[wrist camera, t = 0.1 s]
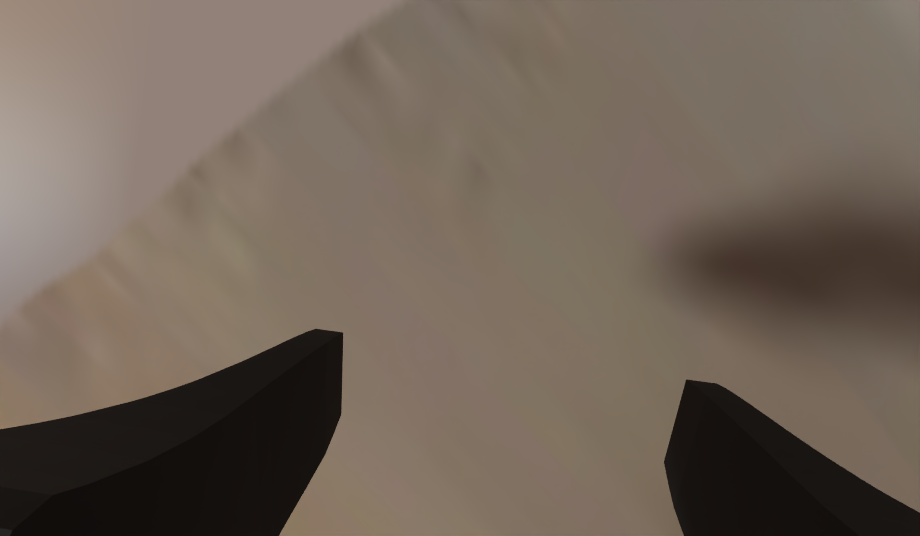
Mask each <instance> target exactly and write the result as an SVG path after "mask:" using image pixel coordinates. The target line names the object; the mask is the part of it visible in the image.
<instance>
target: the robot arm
mask: <svg viewBox="0 0 920 536" xmlns="http://www.w3.org/2000/svg"><path fill="white" fill-rule="evenodd" d="M342 359H343V333H342V332H335V331H327V330H320V329H314V330H311V331H308V332H305V333H303V334H301V335H298V336H296V337H294V338H292V339H290V340H288V341H285V342H283V343H281V344H279V345H277V346H275V347H273V348H270V349H268V350H266V351H264V352H262V353H260V354H257V355H255V356H253V357H251V358H249V359H247V360H244V361H242V362H240V363H237V364H235V365H233V366H230V367H228V368H225V369H223V370H221V371H218V372H216V373H213V374H211V375H209V376H206V377H204V378H201V379H199V380H196V381H193V382H191V383H188V384H185V385H182V386H180V387H177V388H174V389H171V390H168V391H164V392H161V393H158V394H155V395H152V396H149V397H146V398H142V399H139V400H135V401H132V402H128V403H124V404H120V405H116V406H112V407H108V408H104V409H100V410H96V411H92V412H88V413H84V414H80V415H75V416H71V417H66V418H61V419H56V420H51V421H46V422H41V423H35V424H30V425H24V426H18V427H12V428H6V429H0V536H279V534H280V532H281V531H282V529H283V527H284V526H285V524H286V522H287V520H288V519H289V517H290V515H291V513H292V512H293V510H294V508H295V506H296V505H297V503H298V501H299V499H300V498H301V496H302V494H303V493H304V491H305V489H306V487H307V486H308V484H309V482H310V480H311V479H312V477H313V475H314V473H315V471H316V470H317V468H318V466H319V464H320V463H321V461H322V459H323V457H324V455H325V453H326V451H327V449H328V446H329V444H330V441H331V439H332V437H333V434H334V431H335V429H336V426H337V424H338V421H339V419H340V416H341V401H342ZM664 464H665V469H666V474H667V479H668V484H669V489H670V493H671V497H672V501H673V505H674V509H675V512H676V515H677V517H678V520H679V523H680V526H681V528H682V531H683V534H684V536H920V513H919V512H917V511H915V510H914V509H912V508H910V507H908V506H906V505H905V504H903V503H901V502H899V501H897V500H896V499H894V498H892V497H890V496H888V495H887V494H885V493H883V492H882V491H880V490H878V489H876V488H875V487H873V486H871V485H870V484H868V483H866V482H865V481H863V480H862V479H860V478H858V477H857V476H855V475H854V474H852V473H851V472H849V471H847V470H846V469H844V468H843V467H841V466H839V465H838V464H836V463H835V462H833V461H832V460H830V459H828V458H827V457H825V456H824V455H822V454H821V453H819V452H818V451H816V450H815V449H813V448H812V447H810V446H809V445H808V444H806V443H805V442H803V441H802V440H800V439H799V438H797V437H796V436H794V435H793V434H792V433H790V432H789V431H787V430H786V429H784V428H783V427H782V426H780V425H779V424H777V423H776V422H774V421H773V420H772V419H770V418H769V417H767V416H766V415H765V414H763V413H762V412H760V411H759V410H757V409H756V408H755V407H753V406H752V405H750V404H749V403H747V402H746V401H744V400H743V399H741V398H740V397H738V396H737V395H735V394H734V393H732V392H731V391H729V390H727V389H726V388H724V387H722V386H720V385H719V384H715V383H708V382H701V381H693V380H686V383H685V386H684V390H683V394H682V397H681V401H680V405H679V408H678V412H677V416H676V420H675V423H674V427H673V431H672V434H671V438H670V442H669V445H668V449H667V453H666V456H665V460H664Z"/></svg>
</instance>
